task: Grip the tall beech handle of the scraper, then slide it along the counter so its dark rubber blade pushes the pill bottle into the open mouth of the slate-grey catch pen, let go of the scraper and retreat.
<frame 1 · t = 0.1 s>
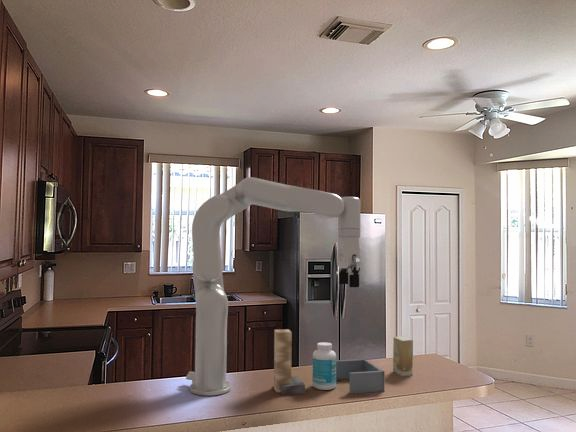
hand: (348, 285, 156), 31 cm above the counter, tool pointing down, fingers open, 9 cm apart
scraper: (282, 389, 145), on the counter
pill bottle: (324, 387, 148), on the counter
skincare box: (402, 374, 163), on the counter
catch pen: (358, 384, 150), on the counter
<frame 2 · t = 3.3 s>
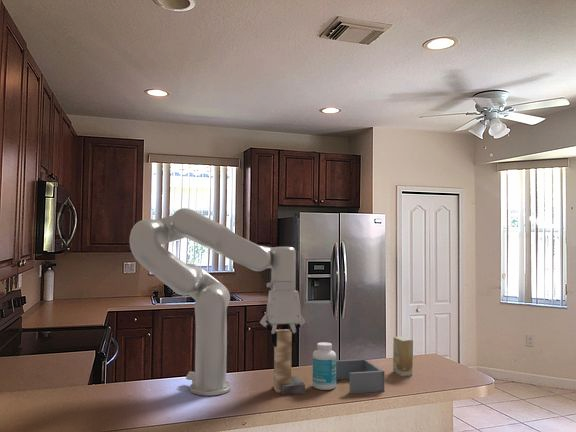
hand: (282, 344, 145), 14 cm above the counter, tool pointing down, fingers closed on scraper, 4 cm apart
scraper: (282, 389, 145), on the counter, touching gripper
everything else where it was.
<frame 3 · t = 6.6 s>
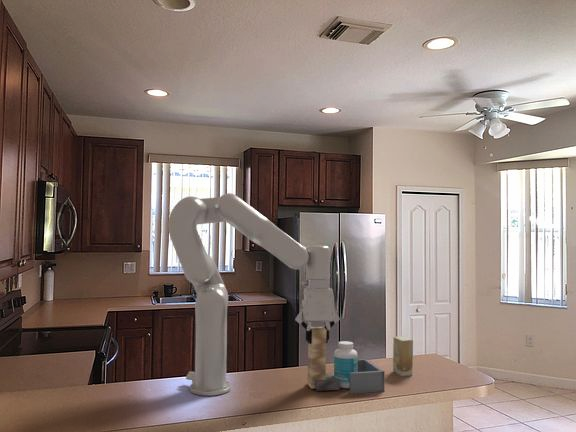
hand: (317, 341, 148), 14 cm above the counter, tool pointing down, fingers closed on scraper, 4 cm apart
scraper: (316, 386, 147), on the counter, touching gripper, pill bottle
pill bottle: (345, 386, 149), on the counter, touching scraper
everything else where it was.
when the fingers open (14 cm above the counter, at t = 9.3 s): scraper stays where it is, on the counter.
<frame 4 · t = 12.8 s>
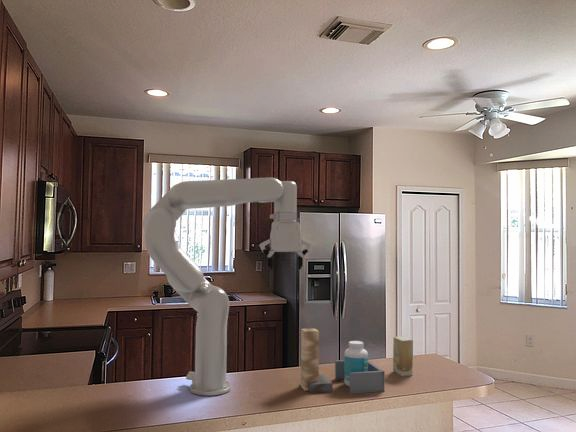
hand: (284, 269, 157), 36 cm above the counter, tool pointing down, fingers open, 9 cm apart
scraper: (309, 387, 147), on the counter
pill bottle: (356, 385, 150), on the counter
everything else where it was.
at the end: pill bottle 0.8 cm from the catch pen (horizontally); the gripper is holding nothing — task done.
